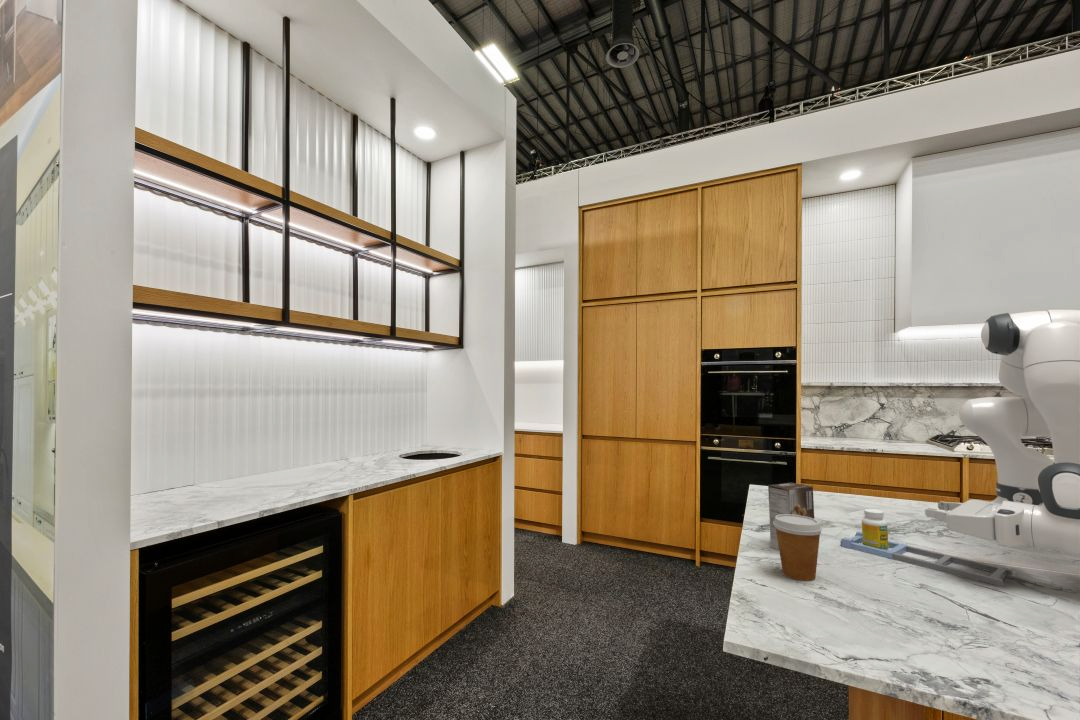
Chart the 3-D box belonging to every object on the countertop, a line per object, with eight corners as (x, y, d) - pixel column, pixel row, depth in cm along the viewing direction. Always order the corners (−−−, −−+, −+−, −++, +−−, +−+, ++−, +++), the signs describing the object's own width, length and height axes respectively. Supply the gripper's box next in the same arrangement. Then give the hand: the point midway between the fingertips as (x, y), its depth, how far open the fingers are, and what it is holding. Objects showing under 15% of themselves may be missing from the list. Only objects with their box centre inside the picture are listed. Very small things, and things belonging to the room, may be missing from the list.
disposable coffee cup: (819, 588, 93) (816, 528, 93) (768, 575, 99) (767, 519, 100) (828, 574, 100) (826, 519, 100) (781, 563, 106) (779, 511, 107)
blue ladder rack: (857, 538, 124) (857, 530, 124) (1013, 574, 100) (1012, 565, 100) (839, 546, 118) (839, 538, 118) (1001, 587, 93) (1000, 577, 94)
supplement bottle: (868, 543, 120) (866, 507, 120) (892, 549, 115) (890, 511, 116) (859, 547, 117) (857, 509, 117) (883, 553, 112) (881, 514, 113)
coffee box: (793, 542, 121) (791, 481, 122) (816, 550, 115) (814, 486, 116) (769, 547, 117) (767, 484, 118) (792, 555, 111) (789, 489, 112)
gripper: (1024, 500, 102) (945, 488, 114) (1003, 516, 91) (917, 502, 102) (1026, 528, 102) (946, 513, 113) (1005, 548, 90) (919, 530, 102)
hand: (932, 508), depth 108 cm, fingers open, 8 cm apart
